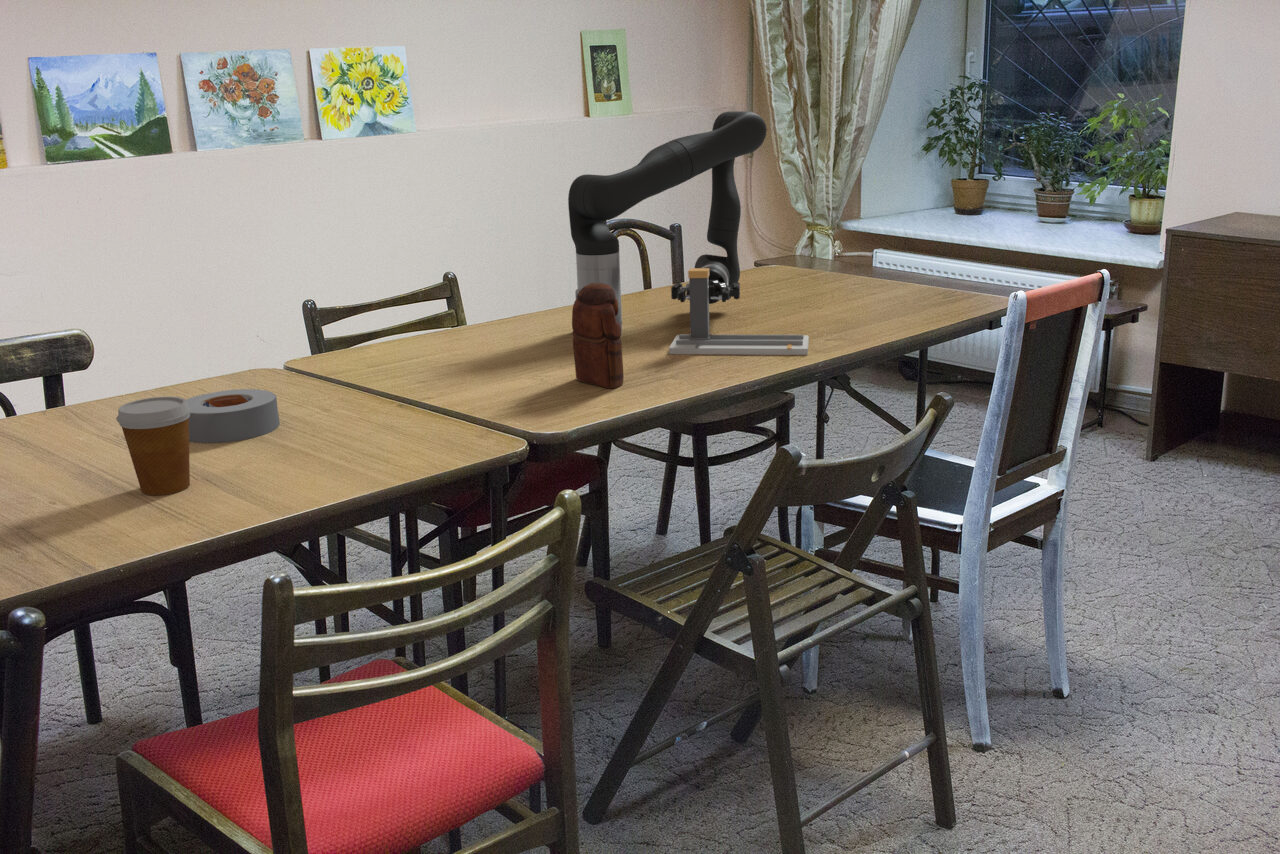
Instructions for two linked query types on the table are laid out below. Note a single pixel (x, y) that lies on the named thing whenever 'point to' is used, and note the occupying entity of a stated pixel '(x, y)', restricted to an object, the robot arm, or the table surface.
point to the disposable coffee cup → (158, 442)
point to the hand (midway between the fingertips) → (702, 297)
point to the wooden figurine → (597, 336)
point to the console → (742, 345)
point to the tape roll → (232, 415)
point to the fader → (699, 303)
